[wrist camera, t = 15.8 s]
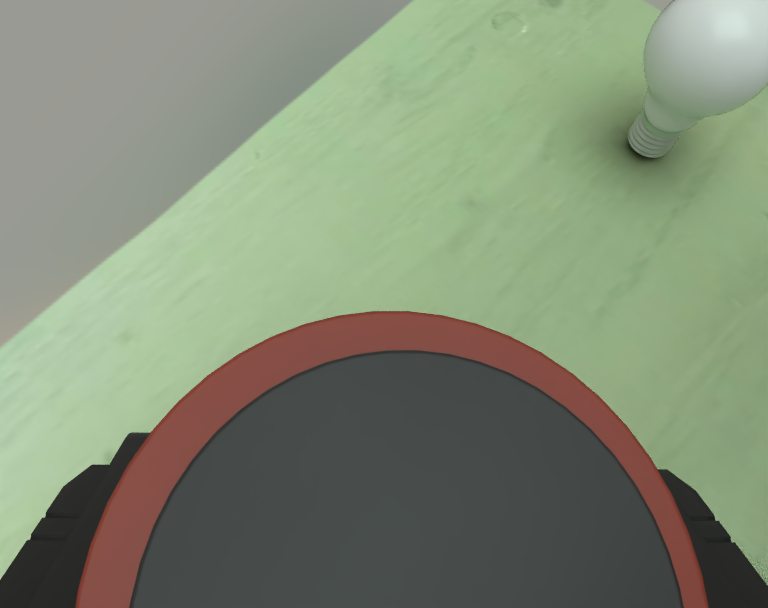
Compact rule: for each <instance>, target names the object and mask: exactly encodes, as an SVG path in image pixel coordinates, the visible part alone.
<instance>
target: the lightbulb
mask: <svg viewBox="0 0 768 608" xmlns="http://www.w3.org/2000/svg"><path fill="white" fill-rule="evenodd" d="M643 65H644V73H645V78H646V82H647V85H648V88H647V91H646V94H645V98H644V107H643V109H642V111H641V112H640V114H639V116H638V117H637V118H636V120H635V122H634V123H633V125H632V126H631V128H630V129H629V132H628V141H629V143H630V145H631V147H632V148H633V149H634V150H635V151H636V152H638V153H639V154H641V155H643V156H646V157H651V158H657V157H661V156H663V155H665V154H666V153H668V152H669V150H670V149H671V148H672V146H673V145H674V144H675V142H676V141H677V140H678V139H679V137H680V136H681V135H682V133H683V132H684V131H685V130H687V129H689V128H691V127H693V126H694V125H695V124H697V123H698V122H699V121H700V120H702V119H703V118H706V117H712V116H716V115H721V114H724V113H727V112H730V111H732V110H735V109H737V108H739V107H741V106H743V105H744V104H746V103H748V102H749V101H751V100H752V99H753V98H755V97H756V96H757V95H758V94H759V93H760V92H761V91H762V90H763V89H764V88H765V87H766V86H767V85H768V0H673V1H672V2H671V3H670V4H669V5H668V6H667V7H666V8H665V9H664V10H663V11H662V12H661V13H660V15H659V16H658V18H657V19H656V21H655V22H654V24H653V26H652V28H651V30H650V32H649V34H648V37H647V40H646V43H645V48H644V56H643Z"/></svg>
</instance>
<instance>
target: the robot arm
mask: <svg viewBox="0 0 768 608" xmlns="http://www.w3.org/2000/svg"><path fill="white" fill-rule="evenodd" d="M149 435H150V433H130V434H128V435H127V437H126V438H125V440H124V441H123V443H122V445H121V446H120V448H119V450H118V451H117V453H116V455H115V456H114V458H113V460H112V461H111V463H110V465H91V466H90V467H88V468H87V469H86V470H84V471H83V472H82V473H81V474H79V475H78V476H77V477H75V478H74V479H73V480H71V481H70V482H69V483H67V484H66V485H65V486H64V487H63V488H62V489H61V491H60V492H59V494H58V495H57V497H56V498H55V500H54V501H53V503H52V504H51V506H50V507H49V509H48V510H47V512H46V517H45V518H42V519H41V521H40V522H39V523H38V525H37V526H36V528H35V529H34V531H33V532H32V534H31V539H30V540H27V541H26V543H25V544H24V546H23V547H22V549H21V550H20V552H19V553H18V555H17V556H16V558H15V559H14V561H13V562H12V563H11V565H10V566H9V568H8V569H7V571H6V572H5V574H4V575H3V577H2V578H1V580H0V608H75V606H76V600H77V593H78V588H79V584H80V581H81V577H82V573H83V570H84V566H85V562H86V559H87V555H88V552H89V548H90V544H91V542H92V540H93V537H94V535H95V532H96V530H97V527H98V525H99V522H100V520H101V517H102V515H103V512H104V510H105V507H106V505H107V503H108V501H109V499H110V497H111V495H112V493H113V492H114V490H115V488H116V486H117V484H118V482H119V481H120V479H121V477H122V475H123V473H124V471H125V469H126V468H127V466H128V464H129V463H130V461H131V460H132V459H133V457H134V456H135V454H136V453H137V452H138V450H139V449H140V447H141V446H142V444H143V443H144V442H145V440H146V439H147V437H148V436H149ZM657 470H658V469H657ZM658 472H659V473H660V475H661V477H662V478H663V480H664V482H665V484H666V485H667V487H668V489H669V490H670V492H671V494H672V496H673V498H674V501H675V503H676V505H677V507H678V510H679V512H680V514H681V516H682V519H683V521H684V523H685V525H686V528H687V530H688V532H689V535H690V538H691V541H692V545H693V548H694V551H695V554H696V557H697V560H698V563H699V567H700V570H701V573H702V577H703V582H704V587H705V592H706V597H707V602H708V607H709V608H768V586H767V585H766V583H765V582H764V581H763V579H762V578H761V577H760V575H759V574H758V573H757V571H756V570H755V569H754V567H753V566H752V565H751V563H750V562H749V561H748V559H747V558H746V557H745V555H744V554H743V553H742V551H741V550H740V549H739V547H738V546H737V545H736V543H732V542H731V537H730V536H729V534H728V533H727V532H726V530H725V529H724V528H723V526H722V525H721V524H720V522H719V521H715V516H714V514H713V513H712V512H711V510H710V509H709V508H708V506H707V505H706V504H705V502H704V501H703V500H702V498H701V497H700V496H699V494H698V493H697V492H696V491H695V490H694V489H693V488H691V487H690V486H689V485H687V484H686V483H685V482H683V481H682V480H680V479H679V478H678V477H676V476H675V475H674V474H672V473H671V472H670V471H668V470H658Z"/></svg>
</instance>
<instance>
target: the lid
mask: <svg viewBox="0 0 768 608" xmlns="http://www.w3.org/2000/svg"><path fill="white" fill-rule="evenodd" d="M75 608H709V607H708V602H707V597H706V592H705V587H704V582H703V577H702V573H701V570H700V567H699V563H698V560H697V557H696V554H695V551H694V548H693V545H692V541H691V538H690V535H689V532H688V530H687V528H686V525H685V523H684V521H683V519H682V516H681V514H680V512H679V510H678V507H677V505H676V503H675V501H674V498H673V496H672V494H671V492H670V490H669V489H668V487H667V485H666V484H665V482H664V480H663V478H662V477H661V475H660V473H659V472H658V470H657V468H656V466H655V465H654V463H653V461H652V460H651V458H650V457H649V455H648V454H647V453H646V451H645V450H644V449H643V447H642V446H641V444H640V443H639V442H638V440H637V439H636V438H635V436H634V435H633V434H632V432H631V431H630V430H629V428H628V427H627V426H626V425H625V424H624V422H623V421H622V420H621V419H620V418H619V417H618V416H617V415H616V414H615V413H614V412H613V411H612V410H611V409H610V407H609V406H608V405H607V404H606V403H605V402H604V401H603V400H602V399H601V398H600V397H599V396H598V395H597V394H595V393H594V392H593V391H592V390H591V389H590V388H588V387H587V386H586V385H585V384H584V383H583V382H581V381H580V380H579V379H578V378H577V377H576V376H574V375H573V374H572V373H571V372H569V371H568V370H566V369H565V368H563V367H562V366H560V365H559V364H557V363H556V362H554V361H553V360H551V359H550V358H548V357H547V356H545V355H544V354H543V353H541V352H539V351H537V350H535V349H533V348H531V347H529V346H527V345H525V344H524V343H522V342H520V341H518V340H516V339H514V338H512V337H510V336H508V335H505V334H502V333H500V332H497V331H494V330H492V329H489V328H486V327H484V326H481V325H478V324H475V323H471V322H467V321H463V320H459V319H455V318H451V317H446V316H442V315H434V314H426V313H417V312H409V311H373V312H365V313H356V314H348V315H340V316H335V317H331V318H327V319H323V320H319V321H315V322H311V323H307V324H304V325H301V326H299V327H296V328H293V329H291V330H288V331H286V332H283V333H280V334H278V335H275V336H273V337H270V338H268V339H266V340H265V341H263V342H261V343H259V344H257V345H255V346H253V347H251V348H249V349H248V350H246V351H244V352H242V353H240V354H238V355H237V356H235V357H234V358H232V359H231V360H230V361H228V362H227V363H225V364H224V365H222V366H221V367H219V368H218V369H217V370H215V371H214V372H212V373H211V374H209V375H208V376H207V377H206V378H204V379H203V380H202V381H201V382H200V383H199V384H198V385H197V386H195V387H194V388H193V389H192V390H191V391H190V392H189V393H187V394H186V395H185V396H184V397H183V398H182V399H181V400H180V401H178V403H177V404H176V405H175V406H174V407H173V408H172V409H171V410H170V411H169V413H168V414H167V415H166V416H165V417H164V418H163V419H162V420H161V422H160V423H159V424H158V425H157V426H156V427H155V428H154V429H153V431H152V432H151V433H150V435H149V436H148V437H147V439H146V440H145V442H144V443H143V444H142V446H141V447H140V449H139V450H138V452H137V453H136V454H135V456H134V457H133V459H132V460H131V461H130V463H129V464H128V466H127V468H126V469H125V471H124V473H123V475H122V477H121V479H120V481H119V482H118V484H117V486H116V488H115V490H114V492H113V493H112V495H111V497H110V499H109V501H108V503H107V505H106V507H105V510H104V512H103V515H102V517H101V520H100V522H99V525H98V527H97V530H96V532H95V535H94V537H93V540H92V542H91V544H90V548H89V552H88V555H87V559H86V562H85V566H84V570H83V573H82V577H81V581H80V584H79V588H78V593H77V600H76V606H75Z"/></svg>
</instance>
